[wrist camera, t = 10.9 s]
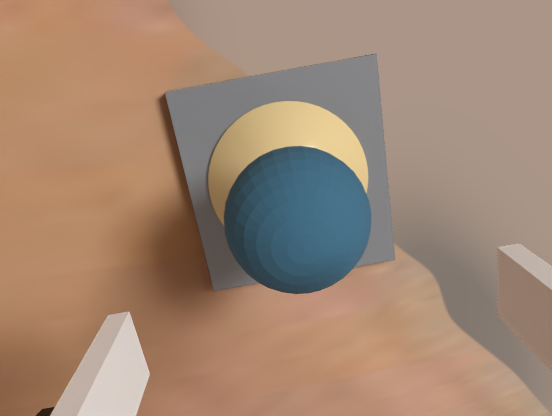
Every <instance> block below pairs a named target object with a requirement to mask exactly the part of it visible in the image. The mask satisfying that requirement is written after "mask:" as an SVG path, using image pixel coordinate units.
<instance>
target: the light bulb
mask: <svg viewBox="0 0 552 416" xmlns="http://www.w3.org/2000/svg"><path fill="white" fill-rule="evenodd" d="M224 228H225V236H226V240H227V243H228V246H229V249H230V251H231V253H232V254H233V256H234V258H235V260H236V261H237V263H238V264H239V265H240V266H241V268H242V269H243V270H244V271H245V272H246V273H247V274H248V275H249V276H250V277H251V278H253V279H254V280H255V281H257V282H258V283H260V284H262V285H264V286H266V287H268V288H271V289H274V290H277V291H280V292H285V293H293V294H302V293H311V292H315V291H320V290H322V289H325V288H327V287H329V286H332V285H333V284H335V283H336V282H338V281H339V280H341V279H343V278H344V277H345V276H346V275H347V274H348V273H349V272H350V271H351V270H352V269H353V268H354V267H355V266H356V264H357V263H358V262H359V260H360V259H361V257H362V255H363V253H364V251H365V249H366V247H367V244H368V240H369V236H370V231H371V209H370V203H369V199H368V197H367V194H366V192H365V190H364V187H363V185H362V183H361V181H360V180H359V178H358V177H357V176H356V174H355V173H354V171H353V170H351V169H350V168H349V167H348V166H347V165H346V164H345V163H344V162H343V161H341V160H339V159H338V158H336V157H335V156H333V155H331V154H330V153H328V152H325V151H322V150H319V149H317V148H312V147H305V146H288V147H283V148H279V149H275V150H272V151H270V152H267V153H265V154H263V155H261V156H259V157H258V158H257V159H255V160H254V161H252V162H251V163H250V164H248V165H247V167H246V168H245V169H244V170H243V171H242V172H241V173H240V174H239V176H238V177H237V179H236V180H235V182H234V184H233V185H232V187H231V189H230V191H229V194H228V197H227V200H226V203H225V210H224Z"/></svg>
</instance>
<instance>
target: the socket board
mask: <svg viewBox="0 0 552 416" xmlns="http://www.w3.org/2000/svg"><path fill="white" fill-rule="evenodd" d="M165 95H166V99H167V103H168V107H169V111H170V115H171V119H172V124H173V128H174V132H175V136H176V140H177V144H178V148H179V152H180V156H181V160H182V164H183V168H184V172H185V176H186V180H187V184H188V188H189V192H190V196H191V201H192V205H193V209H194V213H195V217H196V221H197V225H198V229H199V233H200V237H201V241H202V245H203V249H204V253H205V257H206V261H207V265H208V269H209V273H210V278H211V282H212V286H213V290H214V291H217V290H223V289H229V288H235V287H240V286H246V285H252V284H258V282H257V281H255V280H254V279H253V278H251V277H250V276H249V275H248V274H247V273H246V272H245V271H244V270H243V269H242V268H241V266H240V265H239V264H238V263H237V261H236V260H235V258H234V256H233V254H232V253H231V251H230V249H229V246H228V243H227V240H226V236H225V228H224V210H225V203H226V200H227V197H228V194H229V191H230V189H231V187H232V185H233V184H234V182H235V180H236V179H237V177H238V176H239V174H240V173H241V172H242V171H243V170H244V169H245V168H246V167H247V165H248V164H250V163H251V162H252V161H254V160H255V159H257V158H258V157H259V156H261V155H263V154H265V153H267V152H270V151H272V150H275V149H279V148H283V147H288V146H305V147H312V148H317V149H319V150H322V151H325V152H328V153H330V154H331V155H333V156H335V157H336V158H338V159H339V160H341V161H343V162H344V163H345V164H346V165H347V166H348V167H349V168H350V169H351V170H353V171H354V173H355V174H356V176H357V177H358V178H359V180H360V181H361V183H362V185H363V187H364V190H365V192H366V194H367V197H368V199H369V203H370V209H371V231H370V236H369V240H368V244H367V247H366V249H365V251H364V253H363V255H362V257H361V259H360V260H359V262H358V263H357V264H356V266H355V267H357V266H363V265H369V264H375V263H381V262H386V261H392V260H395V251H394V240H393V229H392V218H391V208H390V196H389V185H388V175H387V164H386V152H385V141H384V130H383V120H382V110H381V109H382V108H381V98H380V86H379V75H378V64H377V54H371V55H365V56H360V57H354V58H349V59H343V60H337V61H332V62H326V63H321V64H315V65H310V66H304V67H299V68H293V69H288V70H282V71H277V72H271V73H266V74H260V75H255V76H249V77H244V78H238V79H232V80H227V81H221V82H216V83H210V84H205V85H199V86H194V87H188V88H183V89H177V90H172V91H167V92H165Z"/></svg>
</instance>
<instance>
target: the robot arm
mask: <svg viewBox="0 0 552 416" xmlns="http://www.w3.org/2000/svg"><path fill="white" fill-rule="evenodd" d="M497 254H498V255H497V256H498V259H497V260H498V261H497V265H498V266H497V269H498V270H497V271H498V315H499V316H500V318H501V319H502V320H503V321H504V322H505V323H506V324H507V325H508V326H509V327H510V328H511V329H512V330H513V331H514V332H515V333H516V334H517V336H518V337H519V338H520V339H521V340H522V341H523V342H524V343H525V344H526V345H527V346H528V347H529V348H530V349H531V350H532V351H533V352H534V353H535V355H536V356H537V357H538V358H539V359H540V360H541V361H542V362H543V363H544V364H545V365H546V366H547V367H548V368H549V369H550V370H551V372H552V266H550V265H549V264H547V263H546V262H545V261H543V260H542V259H540V258H539V257H538V256H536V255H534V254H533V253H532V252H530V251H529V250H528V249H526V248H525V247H523V246H522V245H520V244H514V245H508V246H503V247H498V248H497ZM149 375H150V373H149V370H148V367H147V364H146V361H145V358H144V355H143V352H142V349H141V346H140V343H139V340H138V337H137V333H136V330H135V327H134V324H133V321H132V318H131V315H130V312H123V313H117V314H112V315H108V316H107V318H106V320H105V321H104V323H103V325H102V326H101V328H100V330H99V332H98V333H97V335H96V337H95V339H94V340H93V342H92V344H91V346H90V347H89V349H88V351H87V352H86V354H85V356H84V358H83V359H82V361H81V363H80V365H79V366H78V368H77V370H76V372H75V373H74V375H73V377H72V378H71V380H70V382H69V384H68V385H67V387H66V389H65V391H64V392H63V394H62V396H61V398H60V399H59V401H58V403H57V404H56V406H55V407H52V408H46V409H42V410H41V411H40V412H39V413H38V414H37V415H36V416H136V414H137V411H138V408H139V405H140V402H141V399H142V396H143V393H144V390H145V387H146V384H147V381H148V378H149Z"/></svg>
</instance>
